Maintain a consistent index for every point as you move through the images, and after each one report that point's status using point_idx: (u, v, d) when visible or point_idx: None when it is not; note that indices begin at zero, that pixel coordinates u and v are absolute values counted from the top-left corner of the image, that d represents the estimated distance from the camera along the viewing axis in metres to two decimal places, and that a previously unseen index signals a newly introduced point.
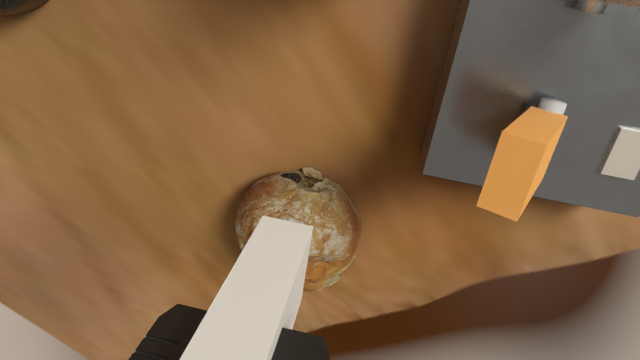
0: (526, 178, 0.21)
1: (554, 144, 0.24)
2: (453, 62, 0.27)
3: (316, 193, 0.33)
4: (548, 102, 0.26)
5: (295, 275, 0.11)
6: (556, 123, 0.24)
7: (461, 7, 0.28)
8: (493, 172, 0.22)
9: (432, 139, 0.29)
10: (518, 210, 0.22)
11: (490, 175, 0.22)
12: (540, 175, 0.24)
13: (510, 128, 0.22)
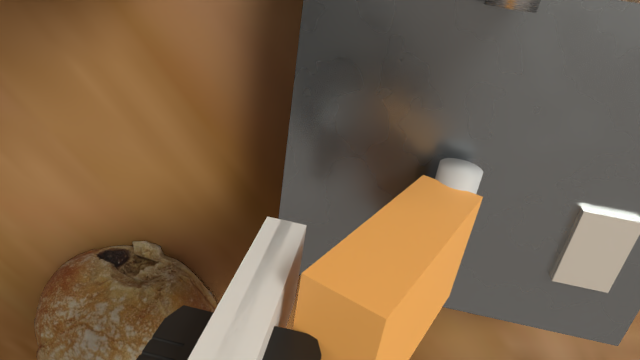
0: None
1: (452, 256, 0.13)
2: (293, 96, 0.16)
3: (135, 288, 0.22)
4: (448, 171, 0.14)
5: (287, 273, 0.11)
6: (449, 223, 0.12)
7: None
8: None
9: (280, 218, 0.18)
10: None
11: None
12: (424, 318, 0.13)
13: (331, 257, 0.10)
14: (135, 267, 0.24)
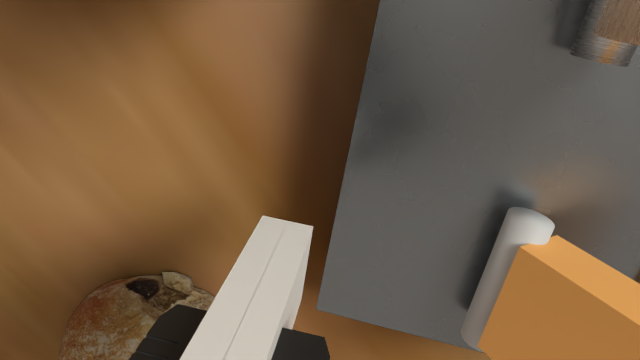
0: None
1: None
2: (353, 137, 0.15)
3: None
4: (543, 230, 0.13)
5: (295, 275, 0.11)
6: (633, 284, 0.12)
7: None
8: None
9: (327, 258, 0.17)
10: None
11: None
12: None
13: None
14: (165, 299, 0.23)
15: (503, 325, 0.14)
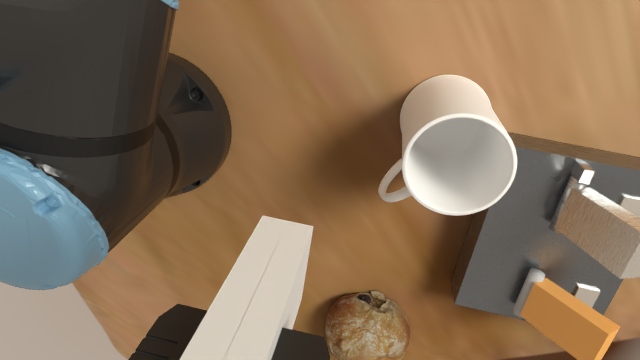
0: (609, 343, 0.39)
1: None
2: (475, 244, 0.44)
3: (383, 313, 0.50)
4: (541, 277, 0.42)
5: (295, 275, 0.11)
6: (569, 294, 0.41)
7: None
8: (600, 351, 0.38)
9: (461, 285, 0.46)
10: (602, 356, 0.40)
11: (598, 353, 0.38)
12: None
13: (598, 326, 0.38)
14: (374, 303, 0.52)
15: (529, 307, 0.43)
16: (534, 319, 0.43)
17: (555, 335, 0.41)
